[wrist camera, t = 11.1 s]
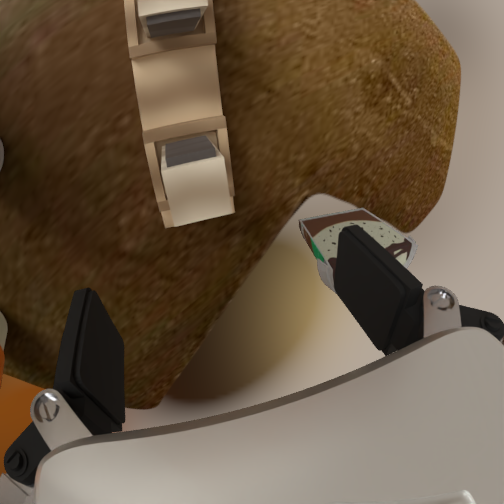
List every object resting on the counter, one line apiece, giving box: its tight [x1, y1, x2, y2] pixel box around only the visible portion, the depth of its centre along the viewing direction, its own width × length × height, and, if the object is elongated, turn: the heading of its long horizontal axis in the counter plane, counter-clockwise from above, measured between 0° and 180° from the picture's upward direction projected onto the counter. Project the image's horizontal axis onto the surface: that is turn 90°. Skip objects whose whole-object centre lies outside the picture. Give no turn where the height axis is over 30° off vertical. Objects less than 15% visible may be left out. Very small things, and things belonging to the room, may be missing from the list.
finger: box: [161, 135, 232, 227], centre depth 21 cm, size 5×4×8 cm
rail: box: [124, 0, 235, 228], centre depth 19 cm, size 26×7×10 cm, turn 5°
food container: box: [299, 208, 418, 294], centre depth 33 cm, size 12×6×10 cm, turn 94°
